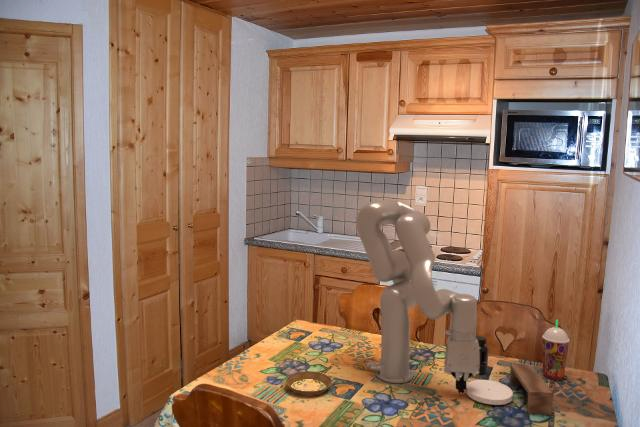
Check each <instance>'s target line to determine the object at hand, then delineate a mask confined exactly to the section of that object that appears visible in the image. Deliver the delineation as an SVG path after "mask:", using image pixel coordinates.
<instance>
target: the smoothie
mask: <svg viewBox="0 0 640 427" xmlns="http://www.w3.org/2000/svg"><path fill="white" fill-rule="evenodd" d="M558 325H559V319H555V326H553V327H550V328H547V330H545V332H544V333H543V334H542V373H543V376H544V377H545V378H547V379H549V380H553V381H559V380H562V379H563V377H564V376H565V372H566V364H567V358H568V351H569V343H570V339H569V336H568V334H567V332H566V331H565V330H564V329H562V328H560V327H558Z"/></svg>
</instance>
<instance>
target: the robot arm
mask: <svg viewBox="0 0 640 427" xmlns="http://www.w3.org/2000/svg"><path fill="white" fill-rule="evenodd" d="M386 225H392V226H394V231H395V234H396V237H397V239H398V240H399V243H400V246H401V247H402V250H399V249H393V248H392V246H391V245H390V241H389V238H388V237H387V235H386V234H385V232H384V231H383V230H382V226H386ZM355 227H356V231H357V233H358V234H357V235H358V236H359V239H360V241H361V243H362V245H363V248H364V251H365V254H366V256H367V260H368V262H369V265H370V267H371V269H372V272H373V275H374V276H375V278H376V280H378V281H379V282H382V283H387V282H391V281H392V283H393V284H390V285H388V286H387V287H385V289H384V290H383V291H382V292H381V294H380V298H379V306H380V312H381V337H380V338H381V343H380V344H381V345H380V348H381V349H380V358H379V359H378V361H376V362H375V361H374V362H372V361H367V362H366V364H367V366H366V368H369V369H370V371H375V376H376V377H377V378H378V379H380V380H381V381H384V382H386V383H390V384H391V383H392V384H404V383H408V382H410V381H412V380H413V378H414V372H413V371H412V370H411V369H410V350H411V348H410V347H411V346H410V345H411V319H410V315H409V310H410V309H412V308H413V307H415V306H416V305H417V306H418V308H419V310H420V312H422V314H423V315H424V316H425V317H426V318H428V319H429V320H437V319H439V318H442V317H444V316H445V315H448V314H450V328H449V329H448V330H445V335H446V336H448V337H447V341H446V345H445V352H444V368H443V372H444V373H445V374H448V375H451V376H452V377H453V378H454V379H455V389H456V391H457V392H458V394H461V393H462V394H465V391H466V385H467V381H469V380H468V379H470V378H471V377H473V376H476V375H480V374H479V369H480V354H479V343H478V340H477V339H476V338H475V336H477V335H476V333H477V313H478V312H477V310H478V309H477V308H478V300H477V298H476V297H475V296H473V295H471V294H467V293H458V292H455V291H452V290H449V289H446V288H442V289H438V290H436V288H435V286H434V282H433V278H432V272H433V271H432V270H433V266H434V263H435V260H436V255H435V253H434V251H433V249H432V246H431V244H430V241H429V239H428V237H427V235H428V234H429V232H430V230H431V221H430V220H429V218H428V216H427V215H426V214H425V213H423V212H421V211H419V210H418V209H416V208H413V207H412V206H409V205H407V204H405V203H403V202H400V201H398V200H396V199H393V198H387V199H381V200H374V201H370V202H368V203H366V204H365V205H363V206H362V207H361V208H360V209H359V211H358V212H357V216H356V220H355ZM460 373H462V374H460ZM460 375H461V376H460Z"/></svg>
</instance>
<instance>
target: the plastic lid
mask: <svg viewBox="0 0 640 427" xmlns="http://www.w3.org/2000/svg"><path fill="white" fill-rule="evenodd" d="M465 393H466V395H467V396H468V397H469V398H471V399H472V400H474V401H476V402H479V403H483V404H486V405H494V406H497V405H498V406H500V405H501V406H502V405H506V404H509V403H511V402H512V401H513V399H514V398H513V396H514V392H513V390H512V389H511V388H510V387H509V386H508V385H506V384H504V383H502V382H498V381H494V380H490V379H473V380H471V381H469V382H466V390H465Z"/></svg>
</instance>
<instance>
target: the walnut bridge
mask: <svg viewBox="0 0 640 427" xmlns="http://www.w3.org/2000/svg"><path fill="white" fill-rule="evenodd" d="M509 367H510V368H509V380H508V381H509V382H508V383H509V385H510V386H513V387H514V386H515V387H517V386H518V387H523V388H524V389H525V391H526V392H527V405H526V408H527V409H526V412H527V413H528V414H529V415H530V414H531V415H548V416H551V415H552V413H553V401H554V399H553V398H554V392H553V391H552V390H551V388H550V387H549V385H548V384H547V383H546V382H545V381H544V379H543V378H542V377H541V376H540V375H539V373H538V372H537V371H536V369H535V368H534V367H533V365H531V364H521V363H520V364H516V363H510V366H509Z"/></svg>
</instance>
